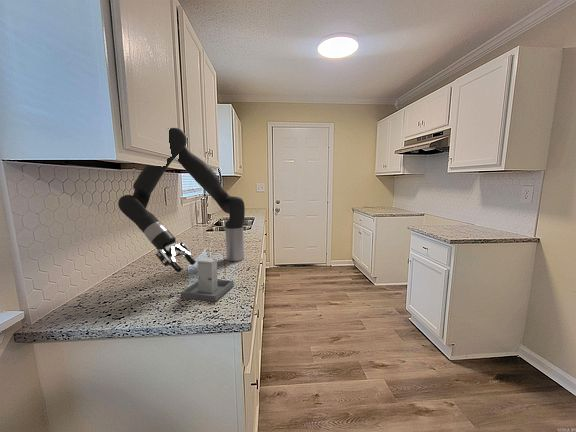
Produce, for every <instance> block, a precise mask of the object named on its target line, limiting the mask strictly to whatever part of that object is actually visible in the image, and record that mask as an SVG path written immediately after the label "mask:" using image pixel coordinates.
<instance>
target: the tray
mask: <svg viewBox="0 0 576 432" xmlns="http://www.w3.org/2000/svg"><path fill="white" fill-rule="evenodd" d="M234 285H235V283H234V280H229V279H220V278H219V279H218V278H217V287H218V289H217V290H216V291H214V292H213V293H205V292H199V291H198V280H196V281H195V282H194V283H192V284H190V285H189V286H187V287H186V288H185V289H183V290H182V291H180V294H179V295H180V299H181V300H182V299H183V300H190V301H198V302H205V303H206V302H207V303H215V304H216V303H217V302H219V301H220V300H221V299H222V298H223V297H224V296H226V294H227V293H229V292H230V291H231V290H232V289H233V288H234Z"/></svg>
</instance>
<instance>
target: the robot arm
mask: <svg viewBox="0 0 576 432" xmlns="http://www.w3.org/2000/svg"><path fill="white" fill-rule="evenodd" d="M169 143H170V149H171V154H172V157H170V158H168V159H167V164H166V166H163V167H161V166H145V167H144V168H143V169H142V170H141V172H140V174H138V176H137V178H136V179H135V181H134V183H133V185H132V188H133V189H134V192H133V193H132V194H124V195H123V196H121V197H120V198H119V199H118V203H117V206H118V209H119V210H120V211H121V212H122V213H123V214H124V216H126V217H127V218H128V219H129V220H130V221H132V222H133V223H134V224H135V225H136V226H137V228H138V229H139V230H140V231H141V232H142V233H143V234H144V236H145V237H146V239H147V240H148V241H149V242H150V243H151V244H152V245H153V247H155V249H157V250H158V251H157V252H156V253H155V256H156V257H157V258H158V260H159V261H160V262H161V263H162V264H163V265H164V267H167V266H170V267H172V269H173V270H174V271H175V272H177V273H181V271H182V270H183V267H182V266H181V265H180V264H179V263H178V261H176V259H175V258H176V257H180V258H182V257H183V258H185V259H186V260H187V262H188V263H189V264H190V265H191V266H193V265H194V264H196V262H197V261H196V259H195V258H194V257H193V256H192V255H191V254H192V253H193V250H192V249H191V248H190V247H189V246H188V245H187V244H186V243H185V242H184V241H183V240H182V241H181V242H180V243H178V242H177V241H176V239H177V238H176V237H175V236H174V235H173V234H172V232H171V231H170V230H169V229H168V228H167V227H166V226H165V225H164V224H162V223H161V222H160V221H159V219H158V218H157V217H156V216H155V215H154V214H153V213H152V212H150V211H148V209H147V206H148V205H149V202H150V198H151V195H152V192H153V191H154V189H155V188H156V186H157V184H158V183H159V181H160V180H161V178H162V177H163V175H164V173H165V172H166V170H167V169H168V167H169V166H170V165H171V163H172V162H173V161H174V160H175V157H176V156H177V155H178V154H179V159H178V161H177V163H179V164H180V166H182V167H183V168H184V170H185V171H186V172H187V173H188V174H189V175H190V176H191V177H192V179H194V181H195V182H196V183H197V184H198V185H199V186H200V187H201V188H202V189H203V190H204V191H206V193H207V194H209V196H211V197H212V199H214V201H215V203H217V205H218V206H219V207H220V209H221V210H222V211H223V212H224V213H225V214H228V215H229V219H228V220H227V221H225V223H224V228H225V230H224V231H225V233H224V234H225V249H226V253H225V254H226V256H225V257H226V261H228V262H239V261H242V260H244V259H245V245H244V244H245V240H244V223H245V219H246V218H245V209H246V208H245V201H244V200H243V198H241V197H239V196H232V195H230V194H229V193H228V192H227V191H226V190H225V189H224V188H223V186H222V184H221V181H220V179H219V176H218V175H217V173H216V172H215V171H214V170H213V169H212V167H211V166H210V165H209V164H207V162H206V161H204V160H202V159H201V158H200V157H198V156H196V155H195V154H194V153H193V152H192V151H190V150H189V149H188V147H187V146H186V145H187V143H188V140H187V135H186V134H185V132H184V130H182V129H180V128H178V127H170V130H169Z"/></svg>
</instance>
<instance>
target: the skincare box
mask: <svg viewBox="0 0 576 432" xmlns="http://www.w3.org/2000/svg"><path fill="white" fill-rule="evenodd" d="M217 279H218V258H211V257H202V258H200V259H198V260H197V281H198V291H199V292H205V293H213V292H214V291H216V290H217V289H218V287H217Z"/></svg>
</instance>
